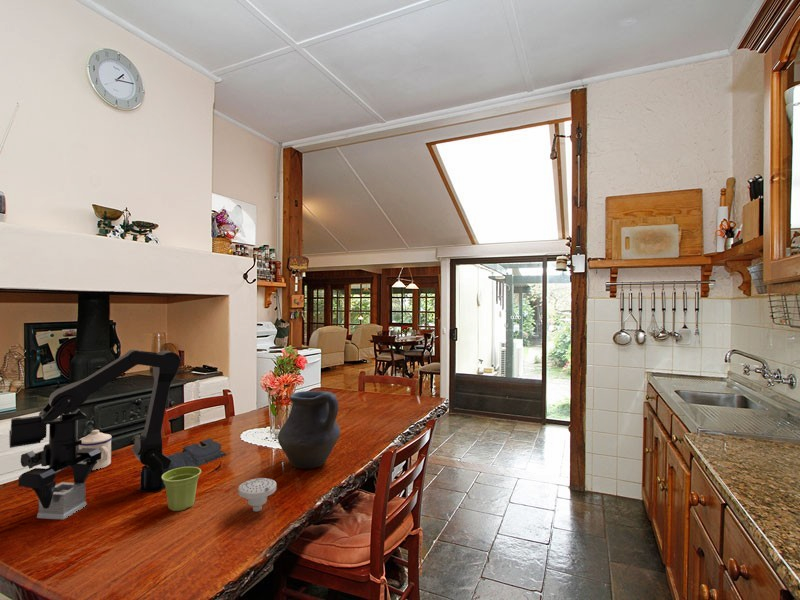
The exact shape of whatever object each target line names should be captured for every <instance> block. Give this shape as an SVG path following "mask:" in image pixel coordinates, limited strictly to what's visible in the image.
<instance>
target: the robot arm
mask: <svg viewBox="0 0 800 600" xmlns="http://www.w3.org/2000/svg"><path fill="white" fill-rule="evenodd" d="M181 360H182V359H181V357H180V355H179V354H178V353H176V352H174V351H169V350H165V349H164V350H160V351H158V352H154V351H153V352H152V351H144V350H138V349H130V350H128V351H127V352H126V353H124V354H123V355H121V356H120V357H118V358H116V359H115V360H113V361H112V362H109V363H108V364H106V365H105V366H103V367H102V368H100V369H98V370H97V371H95V372H94V373H92V374H90V375H88V376H87V377H85V378H83V379H80V380H78V381H74V382H72V383H69V384H67V385H65V386H62V387H60V388H57V389H55V390H54V391H53V392H51V394H50V396H48V403H47V404H45V406H44V407H43V408H42V410H41V411H40V412H39V413H38V415H34V416H33V415H32V416H26V417H13V418H10V429H9V431H8V432H9V435H8V437H9V439H8V440H9V441H8V442H9V443H8V444H9V449H12V448H17V447H23V446H29V445H35V444H40V443H42V442H41V441H44V439H46V438H47V434H48V443H47V444H45V445H44V446H43V448H42V449H43V450H41V451H38V452H34V451H33V450H31V451H28V452H25V453H22V454H21V455H20V465H21V466H22V467H23V468H26V467H28V469H29V470H27V471H25V472H23V473H21V474H20V475H19V476H18V485H17V486H18V487H24V488H29V489H32V490H33V492H35V494H36V495H37V497H38V501H39V500H40V502H41V504H42V506H43V508H45V509H47V508H49V506H50V503H51V500H52V496H53V492H54V488H55V485H57V484H56V483H57V481H56V480H55V479H56V477H57V476H56V474H57V473H59V472H62V471H63V470H66V469H68V468H71V470H72V471H73V483H86V481H87V479H88V477H89V475H90V474H91V470H92V469H93V467H94V465H95V464H97V460H99V459H101V451H100V450H99V449H96V448H82V449H80V450H79V449H78V446H79V445H80V444H82V440H80V439H78V436H79V435H78V432H79V431H78V430H79V428H78V427H79V426H78V425H79V423H78V421H82V420H86V419H87V418H88V416H87V414H86V413H85V412H82V411H81V409H80V408H79V407H80V406H82V405H83V404H84V403H85V402H86V401H87V400H88V399H89V398H90V397H91V396H92V395H93V394H94V393H95V392H96V391H98V390H99V389H101V388H102V387H104V386H106V385H107V384H108V383H109V384H110V382H112V381H113V380H115V379H117V378H119V377H120V376H121V375H123V374H125V373H126V372H128V371H129V370H131V369H133V368H134V367H136V366H137V365H138V366H139V365H140V366H146V367H152V373H153V375H152V376H153V386H152V390H151V395H150V400H149V406H148V410H147V414H146V420H145V424H144V428H143V430H142V432H141V434H140V435H134V444H133V446H132V447H131V450H132V451H133V454H134V457H135V458H136V459H137V460H138V461H139V462H140V463H141V465H143V466H142V467H141V470H140V471H141V472H140V478H139V479H140V482H139V483H140V484H139V485H140V487H139V488H137V491H138V492H157V493H158V492H161V491H162V490H164V489H166V488H165V484H164V481H163V480H162V475H163V474H164V473H166V472H167V471H169V465H170V463H171V460H170V459H169V458H168V457H167V456H168V455H166V454H165V453H163V447H164V446H163V436H162V429H163V424H164V420H165V419H164V418H165V414H166V408H167V404H168V399H169V394H170V388H171V385H172V382H173V381H174V378H175V377H176V376H177V374H178V371H179V368H180V366H181V363H182V361H181ZM47 425H49V426H48V427H49V429H47ZM47 430H49V431H48V432H49V433H47ZM39 465H40V466H41V468H39V467H36V466H39ZM47 466H48V467H47ZM42 467H47V468H42ZM92 471H93V470H92Z"/></svg>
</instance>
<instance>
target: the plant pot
mask: <svg viewBox="0 0 800 600" xmlns="http://www.w3.org/2000/svg"><path fill="white" fill-rule="evenodd" d="M201 473H202V469H201V468H199V467H181V468H176V469H173V470H170V471H167V472H166V473H164V474H163V475H162V480H163V481H164V484H165V488H164V489H165V492H166V500H167V506H168V507H167V508H168V510H171V511H173V512H179V511H185V510H186V509H188V508H191V507H192V506H194V505H195V501H196V492H197V485H198V480H199V478H200V475H201Z"/></svg>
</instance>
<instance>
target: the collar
mask: <svg viewBox="0 0 800 600" xmlns="http://www.w3.org/2000/svg"><path fill="white" fill-rule="evenodd" d="M61 490H67V491H65V492H59V491H61ZM85 502H86V482H85V483H74V482H65V481H61V482H60V483H58V484H55V488H54V492H53V496H52V500H51V503H50V506H49V508H47V509H45V508H43V506H42V504H41V502H40V500H39V499H38V513H39V514H57V515H64V514H66V513H68V512H69V511H71V510H73V509H75V508H76V507H78V506H80V505H81V504H83V503H85Z"/></svg>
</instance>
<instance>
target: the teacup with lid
mask: <svg viewBox="0 0 800 600" xmlns="http://www.w3.org/2000/svg"><path fill="white" fill-rule="evenodd" d="M112 439H113V437H112V435H111V434H109V433H104V432H100V430H99V429H94V430H92V431H91V432H90V433H89V434H87V435H86V436H84V437H81V438H80V439H79V440H82V444H80V445H78V450H80V449H82V448H96V449H99V450H100V451H101V459H99V460H97V464H95V465H94V467H93V469H92V471H97V470H96V469H98V470H101V469H103V468H106V467H108V466H110V464H111V463H112ZM100 468H101V469H100Z"/></svg>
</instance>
